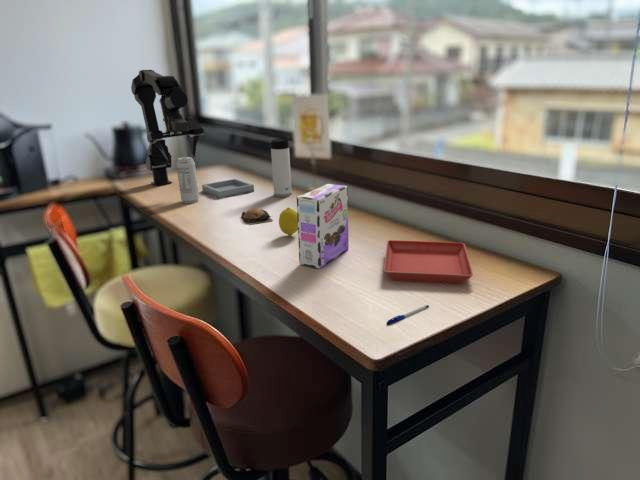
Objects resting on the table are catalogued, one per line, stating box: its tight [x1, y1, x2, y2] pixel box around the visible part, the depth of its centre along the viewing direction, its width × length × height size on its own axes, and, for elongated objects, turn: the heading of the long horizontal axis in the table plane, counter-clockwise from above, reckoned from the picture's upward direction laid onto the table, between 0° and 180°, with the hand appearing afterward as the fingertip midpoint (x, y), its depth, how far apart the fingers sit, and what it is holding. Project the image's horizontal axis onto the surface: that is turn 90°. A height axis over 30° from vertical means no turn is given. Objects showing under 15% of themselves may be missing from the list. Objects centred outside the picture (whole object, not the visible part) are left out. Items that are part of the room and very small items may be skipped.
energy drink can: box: [175, 156, 200, 204], centre depth 163 cm, size 6×6×15 cm
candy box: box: [296, 183, 350, 269], centre depth 111 cm, size 14×6×16 cm, turn 148°
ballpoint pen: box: [386, 305, 430, 326], centre depth 87 cm, size 10×1×1 cm, turn 127°
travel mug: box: [270, 137, 293, 198], centre depth 166 cm, size 6×7×20 cm
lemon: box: [278, 206, 298, 237], centre depth 128 cm, size 6×6×8 cm
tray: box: [201, 178, 255, 200], centre depth 176 cm, size 14×14×2 cm
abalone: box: [240, 208, 273, 226], centre depth 144 cm, size 11×8×4 cm
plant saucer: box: [383, 239, 474, 284], centre depth 106 cm, size 18×18×3 cm
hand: (181, 158), depth 167 cm, fingers open, 9 cm apart
